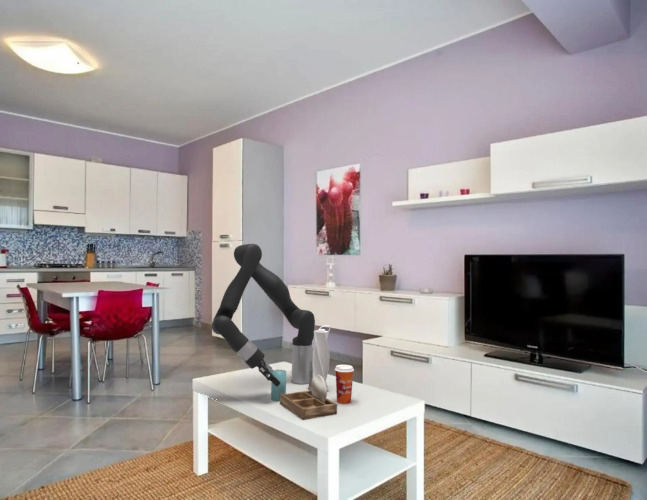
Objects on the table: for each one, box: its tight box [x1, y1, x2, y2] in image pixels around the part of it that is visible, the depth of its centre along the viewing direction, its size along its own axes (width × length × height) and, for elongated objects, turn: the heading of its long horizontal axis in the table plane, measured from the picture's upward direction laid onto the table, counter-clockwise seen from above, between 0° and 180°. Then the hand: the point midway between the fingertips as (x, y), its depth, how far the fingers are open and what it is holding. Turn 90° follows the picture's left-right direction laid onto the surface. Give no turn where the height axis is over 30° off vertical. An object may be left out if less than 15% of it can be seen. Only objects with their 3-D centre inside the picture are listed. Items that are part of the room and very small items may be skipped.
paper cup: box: [334, 364, 355, 405], centre depth 177 cm, size 8×8×14 cm
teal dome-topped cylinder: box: [270, 369, 287, 402], centre depth 179 cm, size 6×6×11 cm
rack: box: [279, 375, 338, 421], centre depth 168 cm, size 14×20×12 cm
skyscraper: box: [307, 324, 332, 393], centre depth 193 cm, size 8×8×28 cm
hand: (278, 382), depth 179 cm, fingers open, 8 cm apart
